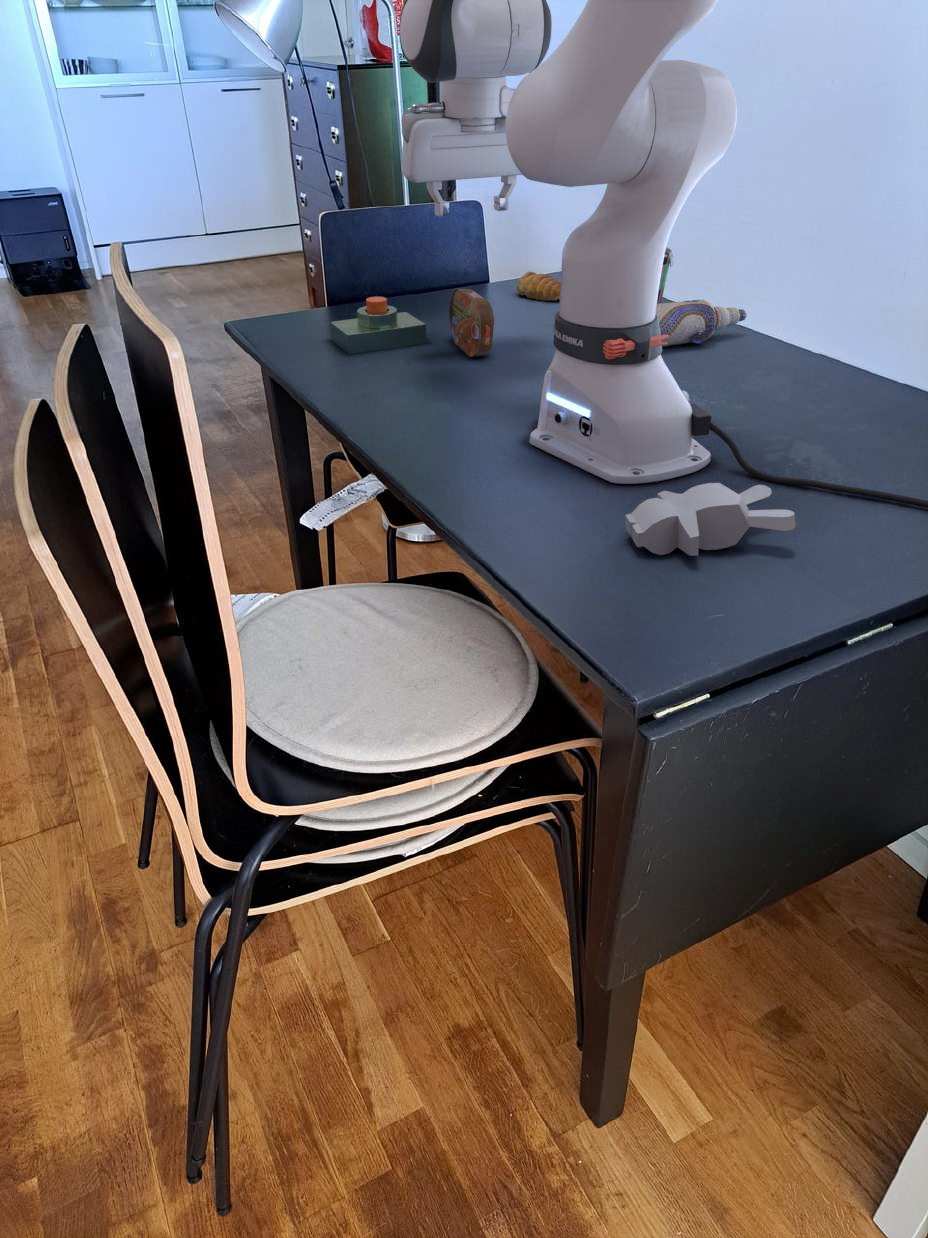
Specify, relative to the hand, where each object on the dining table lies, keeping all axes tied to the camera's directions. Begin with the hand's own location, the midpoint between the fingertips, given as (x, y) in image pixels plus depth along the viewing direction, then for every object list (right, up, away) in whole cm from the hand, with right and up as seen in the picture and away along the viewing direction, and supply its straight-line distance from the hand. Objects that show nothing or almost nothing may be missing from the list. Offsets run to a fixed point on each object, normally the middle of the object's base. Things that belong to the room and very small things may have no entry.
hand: (471, 212), depth 127 cm
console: (-15, -14, +15) cm, 25 cm away
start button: (-15, -10, +12) cm, 22 cm away
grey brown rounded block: (+30, -2, +32) cm, 44 cm away
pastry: (+13, +2, +38) cm, 40 cm away
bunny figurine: (+22, -51, -40) cm, 68 cm away
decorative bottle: (+32, -16, +12) cm, 37 cm away
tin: (0, -16, +11) cm, 20 cm away
